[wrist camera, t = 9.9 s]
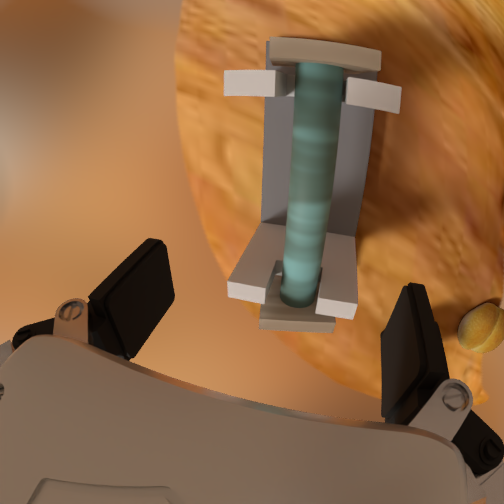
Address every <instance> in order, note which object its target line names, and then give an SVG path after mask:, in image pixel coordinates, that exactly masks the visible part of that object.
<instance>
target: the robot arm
mask: <svg viewBox="0 0 504 504" xmlns="http://www.w3.org/2000/svg"><path fill="white" fill-rule="evenodd" d="M88 298H89V300H90V301H89V302H88V303H86V302H85V301H84V300H82V299H78V298H75V299H70V300H67V301H66V302H64V303H62V304H61V305H60V306H59V307H58V309H57V310H56V314H55V318H52V319H48V320H45V321H41V322H37V323H34V324H30V325H27V326H24V327H22V328H20V329H19V330H18V331H17V332H16V333H15V335H14V337H13V340H12V342H11V341H10V340H9V341H7V342H5V343H3V344H1V345H0V504H504V463H503V460H502V459H503V457H504V444H503V442H502V440H501V438H500V437H499V436H498V435H497V434H496V433H495V432H494V431H493V430H492V429H491V428H490V427H489V426H488V425H487V424H486V423H485V422H484V421H483V420H482V419H481V418H480V417H479V416H477V415H476V414H475V413H474V412H473V411H472V410H471V407H472V404H473V397H472V393H471V391H470V389H469V387H468V386H467V385H466V384H465V383H463V382H462V381H460V380H457V379H450V377H449V372H448V366H447V361H446V356H445V352H444V347H443V343H442V338H441V334H440V330H439V326H438V324H437V322H435V321H434V317H433V314H432V310H431V306H430V303H429V299H428V296H427V292H426V289H425V286H424V285H423V284H417V283H411V282H410V283H409V284H408V286H404V287H403V288H402V291H401V293H400V296H399V298H398V301H397V303H396V305H395V308H394V310H393V312H392V315H391V317H390V319H389V322H388V324H387V326H386V328H385V330H384V333H383V335H382V338H381V367H382V407H381V415H382V417H385V423H382V422H372V421H362V420H355V419H347V418H340V417H333V416H326V415H319V414H313V413H307V412H301V411H295V410H290V409H286V408H281V407H276V406H272V405H267V404H263V403H258V402H254V401H250V400H246V399H242V398H238V397H234V396H231V395H227V394H223V393H220V392H216V391H213V390H209V389H206V388H203V387H199V386H196V385H193V384H190V383H187V382H184V381H181V380H178V379H175V378H172V377H169V376H167V375H164V374H161V373H158V372H156V371H153V370H150V369H148V368H145V367H142V366H140V365H137V364H135V363H132V362H130V361H129V360H130V359H131V358H134V357H135V356H136V354H137V353H138V351H139V350H140V349H141V347H142V346H143V345H144V343H145V342H146V340H147V339H148V337H149V336H150V334H151V333H152V331H153V330H154V329H155V327H156V326H157V324H158V323H159V322H160V320H161V319H162V317H163V316H164V314H165V313H166V312H167V310H168V309H169V307H170V306H171V304H172V303H173V301H174V298H175V293H174V288H173V282H172V277H171V271H170V265H169V259H168V253H167V247H166V245H165V244H164V243H163V241H161V240H159V239H152V238H148V239H147V240H145V241H144V242H143V244H141V245H140V246H139V247H138V248H137V249H136V250H135V251H134V252H133V253H132V254H130V256H129V257H127V258H126V259H125V260H124V261H123V262H122V263H121V264H120V265H119V266H118V267H117V268H116V269H115V270H114V271H113V272H112V273H111V274H110V275H109V276H108V277H107V278H106V279H105V280H104V281H103V282H102V283H101V284H100V285H99V286H98V287H97V288H96V289H95V290H94V291H93V292H92V293H91V294H90V295H89V296H88Z"/></svg>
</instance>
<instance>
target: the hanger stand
mask: <svg viewBox="0 0 504 504" xmlns="http://www.w3.org/2000/svg"><path fill="white" fill-rule="evenodd" d="M269 50H270V41H266V70H224V96H265V115H264V148H263V178H262V207H261V223H260V225H259V227H258V228H257V230H256V232H255V234H254V235H253V237H252V239H251V241H250V242H249V244H248V246H247V248H246V249H245V251H244V253H243V255H242V256H241V258H240V260H239V262H238V263H237V265H236V267H235V269H234V270H233V272H232V274H231V276H230V277H229V279H228V281H227V284H228V297H232V298H236V299H241V300H246V301H251V302H256V303H261V304H265V302H266V299H267V296H268V293H269V291H270V288H271V285H272V282H273V280H274V277H275V275H279V276H282V267H283V257H284V245H285V234H286V222H287V209H288V196H289V182H290V167H291V151H292V134H293V115H294V93H295V67H287V66H272V63H271V60H270V57H269ZM401 90H402V87H399V86H395V85H390V84H386V83H381V82H377V71H374V72H367V73H360V74H350V73H344V72H343V90H342V105H341V118H340V129H339V140H338V150H337V159H336V168H335V176H334V184H333V192H332V199H331V206H330V213H329V220H328V227H327V233H326V239H325V245H324V251H323V257H322V263H321V268H320V274H319V279H318V282H320V285H319V292H318V299H317V305H316V312H315V314H321V315H327V316H333V317H339V318H346V319H352V320H353V317H354V315H355V312H356V308H357V305H358V287H357V263H356V246H355V234H356V229H357V224H358V219H359V214H360V209H361V204H362V198H363V192H364V186H365V180H366V174H367V167H368V161H369V154H370V146H371V138H372V130H373V120H374V110H375V109H378V110H383V111H387V112H392V113H397V114H399V111H400V101H401Z"/></svg>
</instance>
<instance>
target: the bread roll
mask: <svg viewBox="0 0 504 504" xmlns="http://www.w3.org/2000/svg"><path fill="white" fill-rule="evenodd" d="M458 340H459V343H460V344H461V346H462V347H463V348H464V349H471V350H473V351H475V352H477V353H487V352H489V351H492V350H494V349H495V348H496V347H497V346H499V345H500V344H501V342H502V341H503V340H504V310H503V309H501V308H499V307H497V306H495V305H494V304H492V303H484V304H482V305H480V306H478V307H476V308H475V309H473V310H471V311H470V312H468V313H467V314H466V315H465V316H464V317H463V319H462V321H461V322H460V325H459V328H458Z"/></svg>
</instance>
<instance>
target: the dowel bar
mask: <svg viewBox="0 0 504 504" xmlns="http://www.w3.org/2000/svg"><path fill="white" fill-rule="evenodd" d="M269 57H270V60H271V63H272V66H287V67H295V93H294V115H293V134H292V151H291V167H290V182H289V196H288V209H287V222H286V234H285V245H284V257H283V267H282V276H279V275H275V277H274V280H273V282H272V285H271V288H270V291H269V293H268V296H267V299H266V302H265V304H261V309H260V319H259V329H263V330H264V329H265V330H278V331H296V332H318V333H333V330H334V327H335V324H336V321H335V317H333V316H327V315H321V314H315V312H316V305H317V299H318V292H319V285H320V282H318V279H319V274H320V268H321V263H322V257H323V251H324V245H325V239H326V233H327V227H328V220H329V213H330V206H331V199H332V192H333V184H334V176H335V168H336V159H337V150H338V140H339V129H340V118H341V105H342V90H343V72H344V73H350V74H360V73H367V72H374V71H381V51H379V50H374V49H370V48H365V47H360V46H354V45H348V44H342V43H336V42H329V41H321V40H312V39H301V38H287V37H270V50H269Z"/></svg>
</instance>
